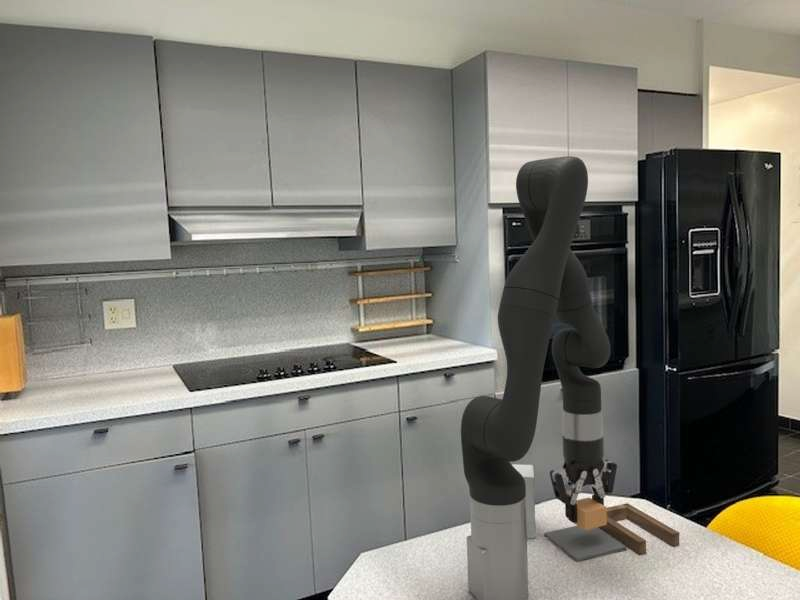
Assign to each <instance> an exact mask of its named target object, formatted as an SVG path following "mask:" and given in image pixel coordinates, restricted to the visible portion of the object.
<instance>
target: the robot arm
mask: <svg viewBox="0 0 800 600" xmlns="http://www.w3.org/2000/svg"><path fill="white" fill-rule="evenodd" d="M588 187H589V175H588V169H587V167H586V164H585V162H584V161H583V159H581V158H579V157H577V156H571V155H568V156H560V157H559V156H557V157H551V158H550V157H549V158H544V159H535V160H530V161H528V162H525V163H524V164H523V165H522V166H521V167H520V168H519V170H518V172H517V175H516V181H515V189H516V194H517V199H518V203H519V206H520V209H521V212H522V214H523V217H524V219H525V223H526V225H527V227H528V230H529V233H530V235H531V238H532V240H533V242H532V244H531V245H530V246H529V248H528V249H527V250H526V251H525V252H524V253H523V255H522V256H521V257H520V258H519V260H518V261H517V262H516V263H515V265H514V266H513V268H512V269H511V271H509V273H508V275H507V277H506V280H505V282H504V284H503V290H502V293H501V294H502V295H501V296H500V297H501V298H500V303H499V306H498V312H497V326H498V330H499V331H498V332H499V335H500V340H501V343H502V346H503V350H504V354H505V355H504V356H505V360H506V365H507V366H506V370H507V371H506V379H505V386H504V392H503V395H502V398H497V397H494V396H489V395H479V396H475V397H474V398H473V399H471V400H470V401H469V402H468V403H467V405H466V407H465V408H464V411H463V413H462V417H461V424H460V439H461V452H462V453H461V454H462V463H463V464H462V465H463V475H464V477H465V481H466V482H467V485H468V487H469V506H470V507H469V510H470V513H469V514H470V534H471V535H468V536H466V558H467V559H466V560H467V561H466V562H467V587H468V591H469V592H470V593H471V594H472V596H473V597H474V598H475V599H476V600H528V597H529V567H528V566H529V565H528V563H529V558H528V538H527V519H526V485H525V480H524V478H523V476H522V475H521V474H520V473H519V472H518V471H517V470H516V469H515V468H514V467H513V466H512V463H513V462H517V461H520V460H522V459H523V458H524V457H525V456H526V454H528V452H529V451H530V448H531V446H532V444H533V441H534V438H535V434H536V429H537V423H538V415H539V408H540V397H541V390H542V389H541V387H542V380H543V374H544V368H545V362H546V359H547V353H548V347H549V343H550V337H551V334H552V330H553V325H554V322H555V318H556V320H557V321H559V322H560V323H562V324H565V325H568V326H570V327H573V328H561V329H559V330H558V331H557V332H556V334H554V336H553V338H552V342H551V353H552V354H551V355H552V358H553V359H552V360H553V362H554V365H555V368H556V371H557V376H558V378H559V382H560V385H561V390H562V419H561V429H562V431H561V432H562V433H561V435H562V456H563V458H564V459H563V460H564V463H563V465H562V468H560V469H557V470H553V469H552V470H550V471H549V477H550V480H551V481H550V482H551V485H552V489H553V490H552V491H553V494H554V498H555V499H557V500H559V501H560V502H561V503H563V504H564V506H565V510H564V511H565V517H566V518H567V520H569V521H570V522H571V523H573V524H575V522H577V504H575V503H576V500H578V497H579V496H578V495H579V494H581V493H582V488H583V487H585V486H589V487H590V489H591V492H592V495H591V499H593V500H595V501H596V502H598V503H600V504H602V505H604V506H605V497H606V495H608V494H609V495H610V494H612V493H613V491H614V487H615V480H616V474H617V468H618V465H617V463H615V462H613V461H611V460H609V459H605V460H604V459H603V458H604V455H605V451H604V450H605V448H604V443H605V442H604V419H603V412H602V387H601V384H600V382H599V381H598V380H596V379H594V378H592V377H589V376H587V375H585V374H584V373H583V372H582V371H581V369H580V367H581V368H582V367H583V368H589V369H590V368H591V369H599V368H601V367H604V366H605V365H606V364H607V363H608V361H609V359H610V356H611V343H610V340H609V336H608V333H607V332H606V330H605V328H604V325H603V324H602V322H601V320H600V318H599V316H598V313H597V312H596V310H595V307H594V305H593V300H592V295H591V290H590V284H589V279H588V275H587V272H586V270H585V268H584V266H583V265H582V263H581V261H580V259H578V257H577V256H576V254H575V253H574V252H573V251H572V249H571V246H572V242H573V240H574V236H575V233H576V230H577V227H578V223H579V221H580V218H581V214H582V212H583V209H584V205H585V203H586V197H587V194H588ZM600 475H601V476H600ZM565 477H566V479H565ZM574 485H575V486H574Z"/></svg>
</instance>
